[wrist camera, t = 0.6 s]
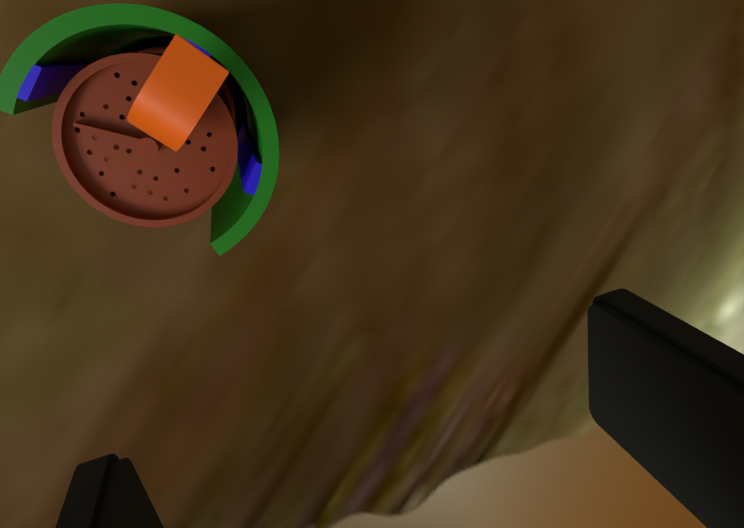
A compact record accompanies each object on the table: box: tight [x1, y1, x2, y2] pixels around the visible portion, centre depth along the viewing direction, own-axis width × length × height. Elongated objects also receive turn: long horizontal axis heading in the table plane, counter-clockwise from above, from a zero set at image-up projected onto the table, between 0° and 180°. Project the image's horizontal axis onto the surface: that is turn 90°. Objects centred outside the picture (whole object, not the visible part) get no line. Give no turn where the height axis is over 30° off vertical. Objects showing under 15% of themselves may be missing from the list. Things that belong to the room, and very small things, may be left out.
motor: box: [0, 3, 279, 255], centre depth 25 cm, size 10×9×20 cm
